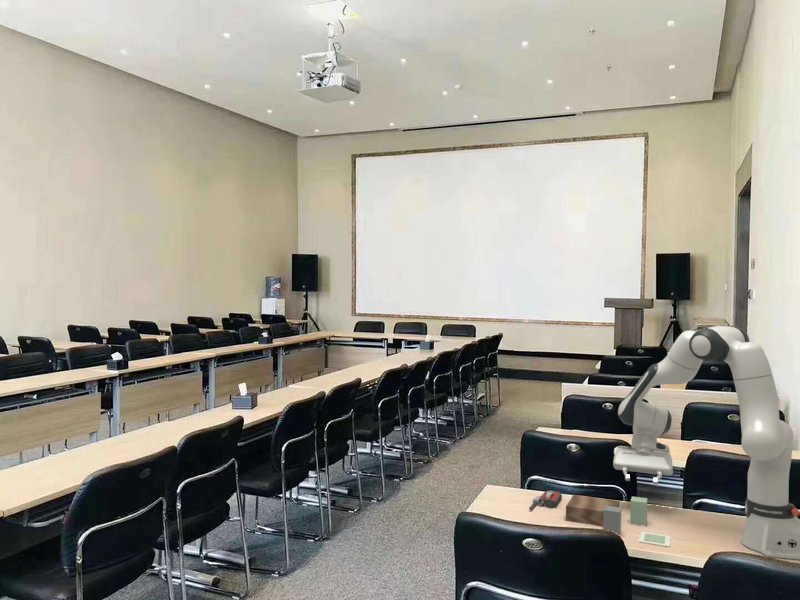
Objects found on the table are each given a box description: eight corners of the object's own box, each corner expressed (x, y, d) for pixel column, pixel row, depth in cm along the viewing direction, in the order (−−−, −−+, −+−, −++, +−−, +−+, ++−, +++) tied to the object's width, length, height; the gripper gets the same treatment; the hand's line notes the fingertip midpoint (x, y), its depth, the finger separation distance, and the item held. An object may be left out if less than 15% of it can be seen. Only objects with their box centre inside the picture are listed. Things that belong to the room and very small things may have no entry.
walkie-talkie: (540, 496, 246) (527, 512, 228) (540, 485, 246) (527, 499, 228) (563, 499, 242) (551, 515, 224) (563, 488, 242) (551, 503, 224)
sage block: (647, 521, 218) (647, 498, 218) (646, 526, 213) (646, 502, 213) (631, 519, 220) (632, 496, 220) (630, 523, 216) (630, 500, 216)
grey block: (621, 531, 208) (621, 507, 208) (619, 537, 204) (619, 512, 204) (605, 529, 211) (605, 505, 210) (603, 534, 206) (603, 509, 206)
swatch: (670, 537, 204) (670, 535, 204) (669, 547, 196) (669, 545, 195) (641, 532, 208) (641, 531, 208) (638, 542, 199) (638, 540, 199)
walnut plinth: (619, 514, 224) (619, 500, 224) (614, 527, 212) (614, 513, 212) (573, 508, 231) (573, 494, 231) (565, 520, 219) (565, 506, 219)
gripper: (613, 440, 235) (610, 473, 227) (673, 446, 226) (671, 481, 218) (615, 450, 239) (611, 482, 231) (673, 456, 231) (672, 490, 222)
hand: (641, 481), depth 224 cm, fingers open, 8 cm apart
